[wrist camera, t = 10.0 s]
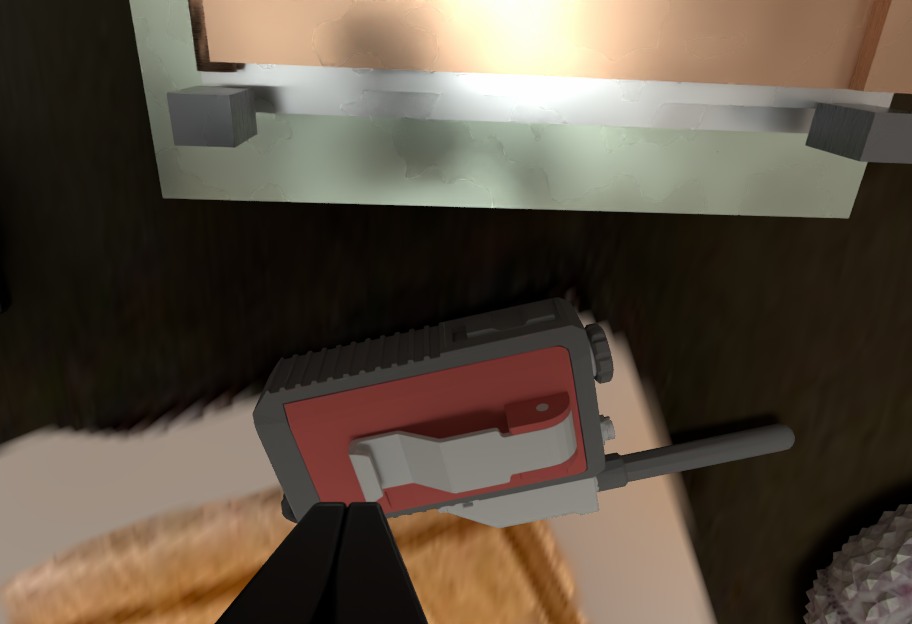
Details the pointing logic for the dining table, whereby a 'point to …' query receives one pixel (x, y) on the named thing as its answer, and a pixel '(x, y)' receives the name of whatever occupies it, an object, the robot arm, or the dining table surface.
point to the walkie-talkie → (466, 421)
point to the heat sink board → (502, 136)
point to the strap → (574, 39)
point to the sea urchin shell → (868, 576)
